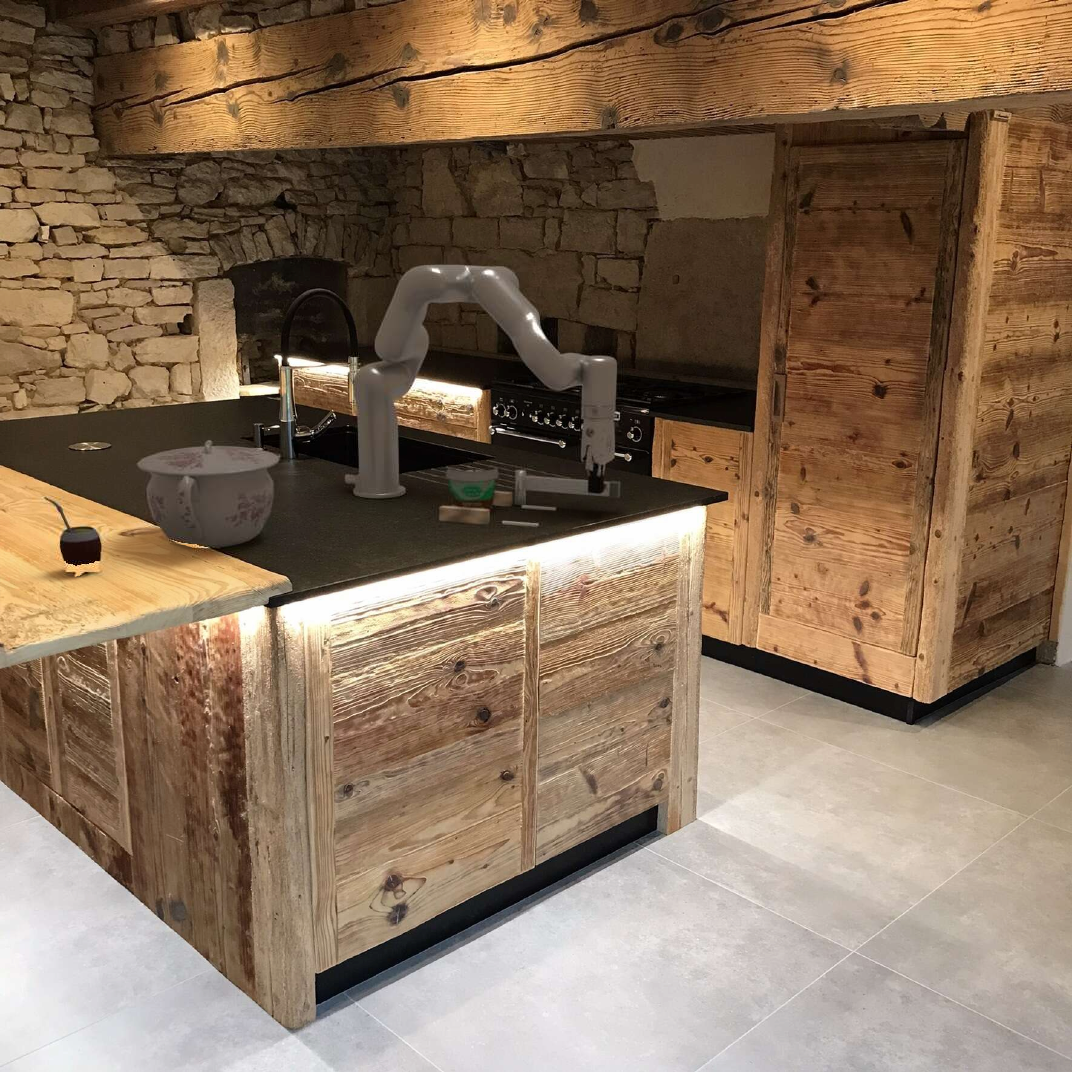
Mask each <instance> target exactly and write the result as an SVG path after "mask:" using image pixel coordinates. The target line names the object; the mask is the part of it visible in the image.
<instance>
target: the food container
mask: <svg viewBox="0 0 1072 1072" xmlns="http://www.w3.org/2000/svg"><path fill="white" fill-rule="evenodd" d="M445 473H446V474H445V478H447V479H448V484H449V494H450V501H451V506H454V507H467V508H480V509H490V513H491V512H492V511H493V509H494V508H493V507H494V505H493V499H494V491H496V490H495V488H496V480H497V479H498V478H499V476H500V475H499V471H498V468H497V466H495V467H494V469H485V470H483V469H478V468H477V469H476V468H475V469H474V468H473V469H472V468H470V469H466V470H455V469H451V468H450V467H447V470H446V472H445Z"/></svg>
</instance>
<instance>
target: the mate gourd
mask: <svg viewBox="0 0 1072 1072" xmlns="http://www.w3.org/2000/svg"><path fill="white" fill-rule="evenodd" d="M43 499H44V500H46V501H47V502H49V503H50V504H52V505H54V507H56V510H57V511H58V513H59V514H60V517H61V518H62V520H63V523H64V524H65V528H66V529H65V530H63V532H62V533H61V535H60V538H59V539H60V540H59V549H60V554H61V556H62V559H63V562H64V561H66V563H68V564H73V565H75V566H77V565H81V564H89V563H94V562H95V561H100V562H101V560H102V559H101V558H102V545H103V544H102V542H101V541H102V540H101V538H100V533H99V532H98V530H97V529H96V528H95V527H92V526H85V525H84V526H83V525H82V526H73V527H70V525H69V523H68V520H67V518H66V515H65V513H64V510H63V508H62V507H61V505H60V504H58V503H57V502H56V501H55V500H52V499H50V498H48V497H46V496H44V498H43Z"/></svg>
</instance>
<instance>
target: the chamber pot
mask: <svg viewBox="0 0 1072 1072" xmlns="http://www.w3.org/2000/svg"><path fill="white" fill-rule="evenodd" d="M280 459H281V458H280V457H279V456H278V455H277V454H274V453H273V452H270V451H266V450H262V449H257V448H254V447H253V448H252V447H243V446H231V445H229V446H228V445H213V441H212V440H210V439H208V440H206V441H205V443H204V446H192V447H184V448H177V449H171V450H165V451H161V452H157V453H154V454H151V455H148V456H145V457H143V458H141V459H140V460H139V461H138V462H137V463H136V466H137V467H138V468H139V470H141V471H143V472H146V473H149V474H151V476H150V479H149V482H148V484H147V486H146V497H147V498H146V499H147V502H148V507H149V510H150V513H151V516H152V518H153V520H154V522H155V523H156V524H157V526H158V527H159V528H160V530H161V531H162V533H164V534H165V536H166V537H167V539H168V538H169V539H168V540H170V539H171V540H174V541H177V542H181V543H188V544H197V545H199V546H204V547H224V546H231V545H236V544H239V545H241V543H242V544H244V543H246V542H249V541H251V540H253V539H254V538H257V536H258V535H259V534H260V533H261V531H262V529H263V528H264V526H265V524H266V522H267V521H268V519H269V518H270V514H271V512H272V507H273V500H274V494H275V493H274V491H275V489H274V487H275V486H274V480H273V478H272V477H271V475H270V474H269V472H268V469H270V468H272V467H273V466H276V465H277V464H278V463H279V462H280ZM171 540H170V541H171ZM236 546H237V545H236ZM231 547H232V546H231Z"/></svg>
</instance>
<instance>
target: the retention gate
mask: <svg viewBox="0 0 1072 1072" xmlns="http://www.w3.org/2000/svg"><path fill="white" fill-rule="evenodd" d="M514 487H515V489H514V490H515V496H514V499H515V500H514V501H515V502H514V504H515V505H516V506H522V505H526V502H527V501H526V500H527V499H526V496H527V495H526V491H532V492H533V491H535V492H548V493H560V494H571V495H572V494H573V495H582V496H583V495H584V496H586V495H587V496H597V497H598V496H600V497H608V498H611V499H619V497H621V481H615V480H611V481H605V480H604V489H603V492H602V493H601V494H596V493H589V492H588V479H576V478H563V477H551V476H550V477H549V476H536V475H535V476H534V475H527V470H525V469H515V486H514Z"/></svg>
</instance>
